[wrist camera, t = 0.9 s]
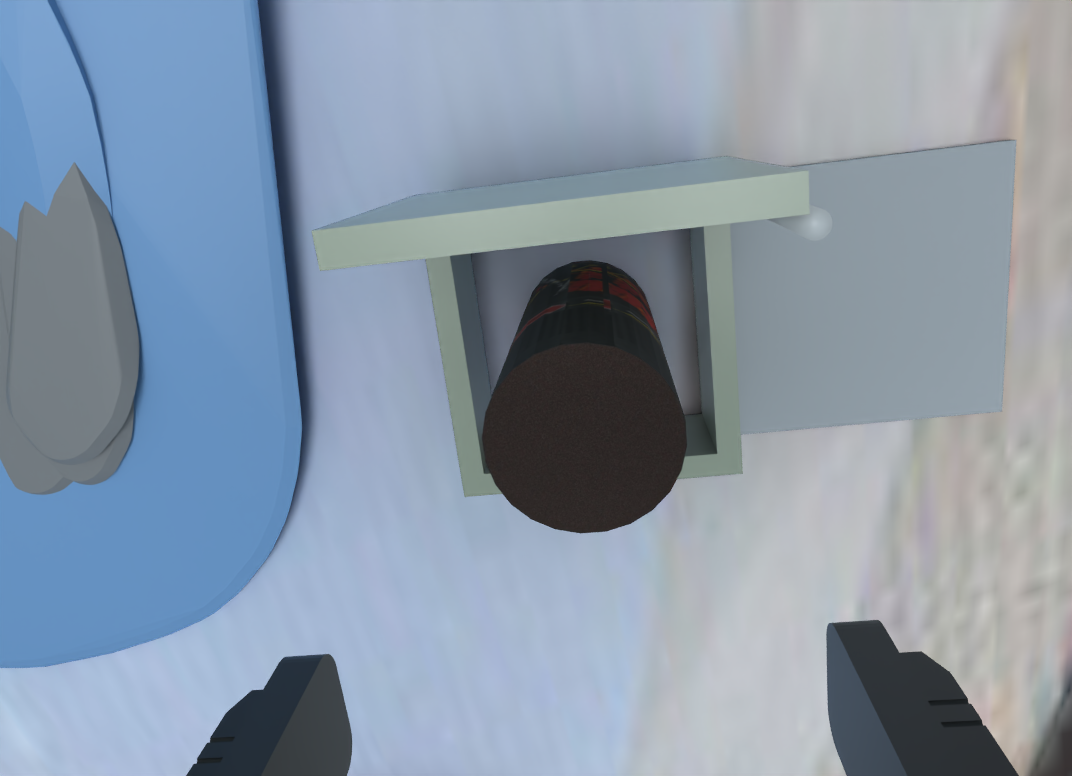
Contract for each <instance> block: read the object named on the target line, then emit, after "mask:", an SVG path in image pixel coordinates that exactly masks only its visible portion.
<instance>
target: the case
mask: <svg viewBox="0 0 1072 776" xmlns="http://www.w3.org/2000/svg"><path fill="white" fill-rule="evenodd" d="M763 219H768V220H770V221H772V222H774V223H776V224H778V225H780V226H782V227H784V228H786V229H788V230H790V231H792V232H794V233H796V234H798V235H800V236H802V237H804V238H806V239H808V240H811V241H818V240H821V239H823V238H825V237H826V236H827V235H828V234H829V233H830V231H831V229H832V224H833V222H832V217H831V215H830V214H829V213H828V212H827V211H826V210H824V209H821V208H818V207H815V206H812V205H809V171H808V170H803V169H797V168H791V167H785V166H780V165H774V164H768V163H762V162H757V161H751V160H745V159H740V158H734V157H728V156H724V157H716V158H708V159H700V160H692V161H684V162H676V163H668V164H660V165H652V166H644V167H636V168H628V169H620V170H612V171H604V172H596V173H588V174H580V175H572V176H564V177H556V178H548V179H540V180H532V181H523V182H515V183H507V184H499V185H491V186H483V187H475V188H467V189H459V190H451V191H443V192H435V193H427V194H419V195H414V196H411V197H408V198H405V199H402V200H399V201H396V202H393V203H390V204H388V205H385V206H382V207H379V208H376V209H373V210H370V211H367V212H365V213H362V214H359V215H356V216H353V217H350V218H347V219H344V220H342V221H339V222H336V223H333V224H330V225H327V226H324V227H321V228H318V229H316V230H313V231H312V235H313V240H314V245H315V250H316V255H317V260H318V265H319V269H320V271H323V270H332V269H341V268H349V267H358V266H367V265H375V264H384V263H392V262H401V261H410V260H418V259H426V265H427V271H428V277H429V284H430V290H431V296H432V302H433V308H434V314H435V320H436V326H437V332H438V338H439V344H440V350H441V356H442V363H443V369H444V375H445V381H446V387H447V393H448V399H449V405H450V411H451V417H452V423H453V429H454V436H455V442H456V448H457V454H458V460H459V466H460V472H461V478H462V484H463V490H464V496H465V497H469V496H481V495H493V494H502V492H501V491H500V490H499V489H498V487H497V486H496V485H495V483H494V480H493V478H492V476H491V474H490V471H489V469H488V467H487V465H486V462H485V456H484V449H483V442H482V433H483V426H484V418H485V412H486V410H487V407H488V405H489V402H490V399H491V397H492V395H491V388H490V382H489V375H488V368H487V361H486V355H485V348H484V341H483V334H482V327H481V321H480V314H479V307H478V300H477V294H476V287H475V280H474V273H473V266H472V260H471V253H479V252H487V251H496V250H505V249H513V248H522V247H531V246H539V245H548V244H556V243H565V242H574V241H582V240H591V239H600V238H608V237H617V236H625V235H634V234H643V233H651V232H660V231H669V230H677V229H686V228H690V239H691V254H692V269H693V284H694V300H695V315H696V330H697V346H698V361H699V376H700V391H701V407H702V414H696V415H686V416H684V417H685V420H686V434H687V449H686V453H685V458H684V462H683V467H682V471H681V472H680V474H679V476H678V478H677V479H684V478H695V477H707V476H719V475H731V474H743V472H742V452H741V432H740V412H739V393H738V373H737V353H736V333H735V314H734V294H733V274H732V254H731V235H730V223H738V222H746V221H755V220H763Z"/></svg>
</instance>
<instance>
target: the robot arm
mask: <svg viewBox="0 0 1072 776" xmlns="http://www.w3.org/2000/svg"><path fill="white" fill-rule="evenodd" d="M827 691H828V714H829V721H830V727H831V732H832V736H833V740H834V743H835V746H836V749H837V752H838V755H839V757H840V760H841V762H842V765H843V767H844V770H845V772H846V775H847V776H1019V775H1018V774H1017V772H1016V771H1015V769H1014V768H1013V766H1012V765H1011V763H1010V762H1009V760H1008V759H1007V757H1006V756H1005V754H1004V753H1003V751H1002V750H1001V748H1000V747H999V745H998V744H997V742H996V741H995V739H994V738H993V736H992V735H991V733H990V732H989V730H988V729H987V727H986V726H983V724H982V720H981V718H980V717H979V715H978V714H977V712H976V711H975V709H974V707H973V706H972V704H969V703H968V698H967V697H966V695H965V694H964V692H963V691H962V689H961V688H960V686H959V685H958V683H957V682H956V680H955V679H954V677H953V676H952V674H951V673H950V672H949V671H947V670H946V669H945V668H943V667H942V666H941V665H939V664H938V663H936V662H935V661H934V660H932V659H931V658H930V657H928V656H927V655H926V654H924V653H923V652H904V653H899V651H898V650H897V648H896V646H895V645H894V643H893V641H892V639H891V638H890V636H889V634H888V633H887V631H886V629H885V628H884V626H883V624H882V623H881V622H880V621H879V620H870V621H855V622H839V623H829V624H828V627H827ZM351 755H352V734H351V728H350V723H349V719H348V715H347V710H346V706H345V702H344V697H343V693H342V689H341V684H340V680H339V676H338V672H337V667H336V664H335V661H334V659H333V657H332V656H331V655H329V654H323V655H307V656H292V657H285V658H283V659H282V660H281V661H280V662H279V664H278V666H277V667H276V669H275V671H274V672H273V674H272V676H271V678H270V679H269V681H268V683H267V684H266V686H265V688H264V689H263V690H252V691H251V692H250V693H248V694H247V695H246V696H245V697H244V698H243V699H242V700H240V701H239V702H238V703H237V704H236V705H235V706H234V707H232V708H231V709H230V710H229V711H228V712H227V713H226V714H225V716H224V717H223V719H222V720H221V722H220V723H219V725H218V727H217V728H216V730H215V731H214V733H213V734H212V736H211V738H210V743H207V744H206V746H205V747H204V749H203V750H202V752H201V753H200V755H199V757H198V758H197V764H193V766H192V768H191V769H190V771H189V772H188V774H187V776H347V773H348V770H349V767H350V762H351Z"/></svg>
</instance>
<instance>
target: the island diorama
mask: <svg viewBox="0 0 1072 776" xmlns="http://www.w3.org/2000/svg"><path fill="white" fill-rule="evenodd" d="M301 435H302V420H301V407H300V397H299V388H298V378H297V369H296V359H295V350H294V341H293V331H292V322H291V312H290V303H289V293H288V284H287V274H286V265H285V255H284V246H283V236H282V227H281V217H280V208H279V198H278V189H277V179H276V170H275V160H274V151H273V142H272V132H271V123H270V113H269V104H268V94H267V85H266V75H265V66H264V56H263V47H262V37H261V28H260V18H259V9H258V0H0V668H30V667H46V666H51V665H56V664H61V663H66V662H71V661H76V660H81V659H86V658H91V657H96V656H100V655H105V654H110V653H114V652H117V651H120V650H123V649H126V648H130V647H133V646H136V645H139V644H142V643H146V642H149V641H152V640H155V639H158V638H161V637H164V636H166V635H169V634H172V633H174V632H177V631H179V630H181V629H183V628H186V627H188V626H190V625H192V624H194V623H197V622H199V621H201V620H203V619H205V618H206V617H208V616H210V615H212V614H213V613H215V612H216V611H217V610H219V609H220V608H221V607H222V606H224V605H225V604H226V603H227V602H228V601H230V600H231V599H232V598H233V597H234V596H236V595H237V594H238V593H239V592H240V591H241V590H242V589H243V587H244V586H245V585H246V584H247V583H248V582H249V580H250V579H251V578H252V577H253V575H254V574H255V573H256V572H257V570H258V569H259V568H260V567H261V565H262V564H263V563H264V562H265V560H266V559H267V557H268V555H269V554H270V552H271V551H272V549H273V547H274V545H275V543H276V541H277V538H278V536H279V534H280V532H281V530H282V528H283V525H284V523H285V521H286V518H287V515H288V512H289V509H290V505H291V501H292V497H293V493H294V489H295V484H296V480H297V475H298V468H299V460H300V447H301Z"/></svg>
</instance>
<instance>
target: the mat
mask: <svg viewBox="0 0 1072 776" xmlns="http://www.w3.org/2000/svg"><path fill="white" fill-rule="evenodd" d="M1015 155H1016V140H1005V141H997V142H989V143H981V144H973V145H964V146H956V147H948V148H940V149H932V150H923V151H915V152H907V153H899V154H891V155H883V156H874V157H866V158H858V159H850V160H842V161H833V162H825V163H817V164H809V165H801V166H793V167H791V168H797V169H803V170H808V171H809V205H812V206H815V207H818V208H821V209H824V210H826V211H827V212H828V213H829V214H830V215H831V217H832V222H833V224H832V229H831V231H830V233H829V234H828V235H827V236H826V237H825V238H823V239H821V240H818V241H811V240H808V239H806V238H804V237H802V236H800V235H798V234H796V233H794V232H792V231H790V230H788V229H786V228H784V227H782V226H780V225H778V224H776V223H774V222H772V221H770V220H768V219H763V220H755V221H746V222H738V223H730V235H731V254H732V274H733V294H734V314H735V333H736V353H737V373H738V393H739V412H740V432H741V435H743V434H754V433H765V432H776V431H788V430H799V429H810V428H821V427H832V426H844V425H855V424H866V423H877V422H889V421H900V420H911V419H922V418H934V417H945V416H956V415H967V414H979V413H990V412H1001V411H1002V401H1003V382H1004V363H1005V344H1006V325H1007V306H1008V287H1009V268H1010V249H1011V230H1012V212H1013V193H1014V174H1015Z"/></svg>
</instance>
